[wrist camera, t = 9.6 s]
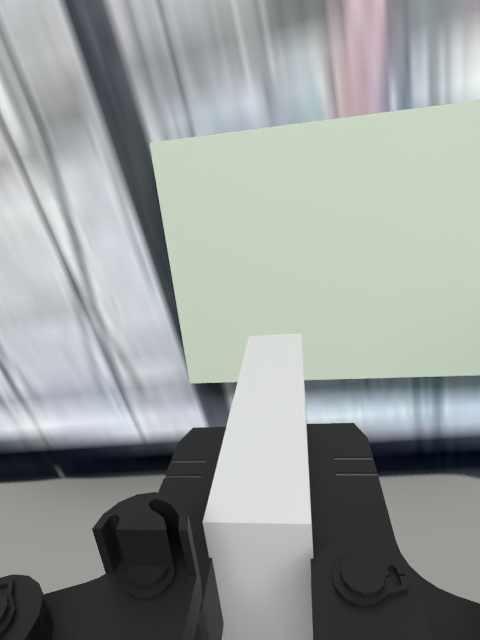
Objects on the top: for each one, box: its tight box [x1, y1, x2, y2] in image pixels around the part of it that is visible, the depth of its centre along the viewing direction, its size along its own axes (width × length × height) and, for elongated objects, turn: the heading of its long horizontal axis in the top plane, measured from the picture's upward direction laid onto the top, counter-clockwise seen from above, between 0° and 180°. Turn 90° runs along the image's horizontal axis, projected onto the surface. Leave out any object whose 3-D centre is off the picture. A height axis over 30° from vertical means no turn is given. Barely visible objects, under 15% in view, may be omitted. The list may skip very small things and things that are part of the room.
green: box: [150, 100, 480, 383], centre depth 16 cm, size 30×20×20 cm, turn 96°
